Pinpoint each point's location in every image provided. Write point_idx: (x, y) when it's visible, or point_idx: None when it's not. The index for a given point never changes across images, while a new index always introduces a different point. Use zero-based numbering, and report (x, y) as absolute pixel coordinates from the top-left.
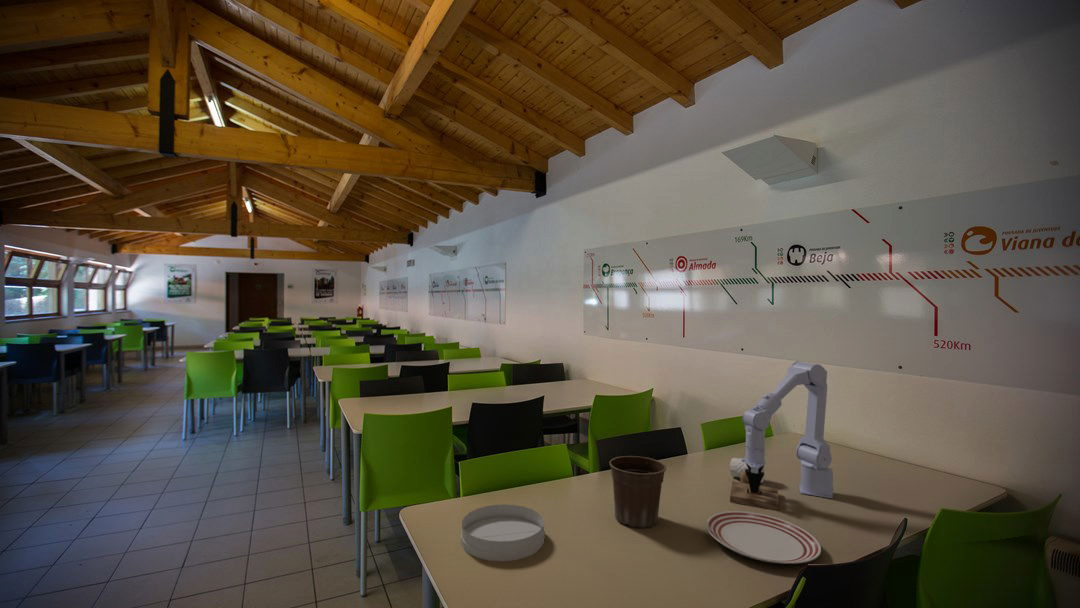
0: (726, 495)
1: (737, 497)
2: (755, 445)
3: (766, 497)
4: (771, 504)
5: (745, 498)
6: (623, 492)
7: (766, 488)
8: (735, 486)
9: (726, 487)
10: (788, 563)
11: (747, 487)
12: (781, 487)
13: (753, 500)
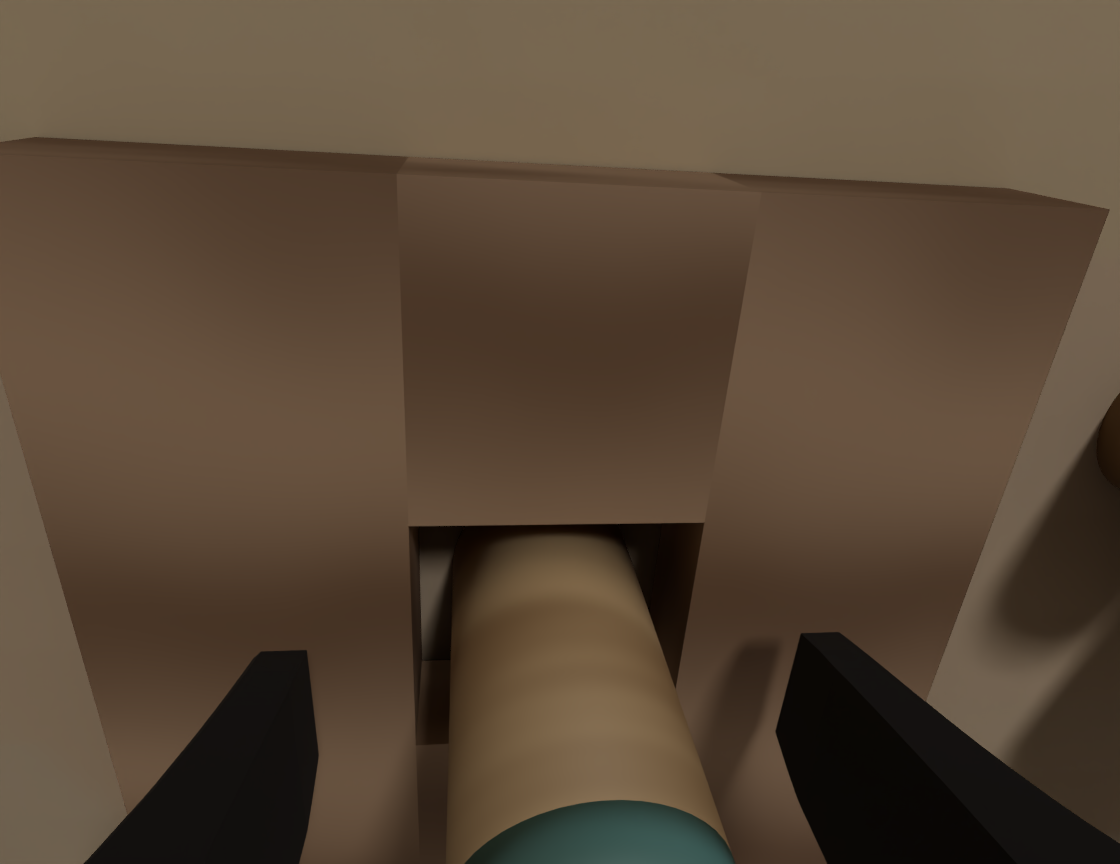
0: (439, 46)
1: (2, 339)
2: None
3: (356, 803)
4: None
5: (42, 509)
6: None
7: None
8: (755, 285)
9: (976, 48)
10: None
11: (769, 524)
12: (1084, 818)
13: (92, 632)
